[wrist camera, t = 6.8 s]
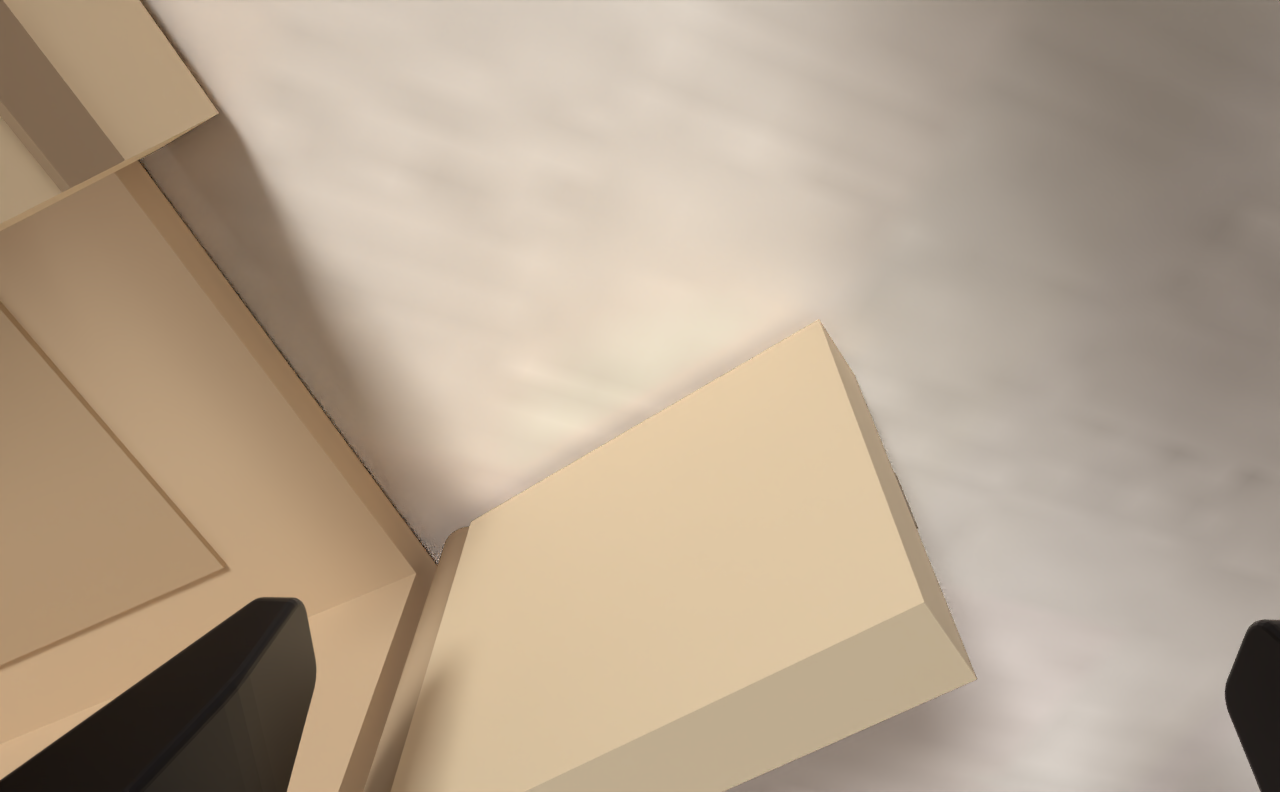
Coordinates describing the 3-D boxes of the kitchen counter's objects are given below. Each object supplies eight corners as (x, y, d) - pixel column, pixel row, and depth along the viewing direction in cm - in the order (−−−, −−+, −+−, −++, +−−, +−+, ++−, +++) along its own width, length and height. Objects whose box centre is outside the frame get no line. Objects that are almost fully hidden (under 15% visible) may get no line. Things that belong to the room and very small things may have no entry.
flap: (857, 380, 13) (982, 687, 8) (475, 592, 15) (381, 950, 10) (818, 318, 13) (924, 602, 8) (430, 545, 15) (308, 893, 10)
